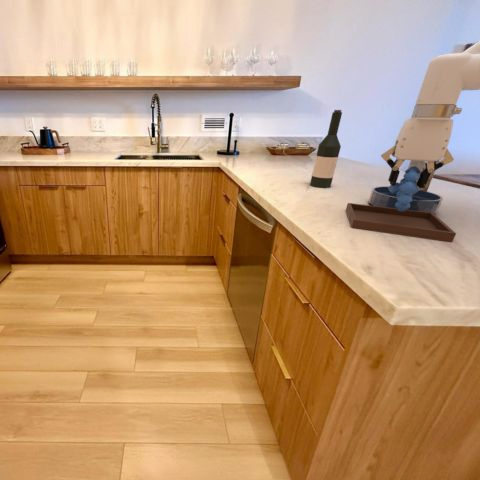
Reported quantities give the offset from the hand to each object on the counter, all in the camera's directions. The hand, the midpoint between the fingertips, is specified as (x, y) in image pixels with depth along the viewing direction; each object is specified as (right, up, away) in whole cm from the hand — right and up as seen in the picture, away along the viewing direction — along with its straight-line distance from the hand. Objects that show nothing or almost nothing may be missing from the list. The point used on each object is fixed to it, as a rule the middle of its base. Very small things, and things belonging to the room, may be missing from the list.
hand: (405, 185), depth 78 cm
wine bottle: (+3, +8, +46) cm, 47 cm away
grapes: (0, -7, +3) cm, 7 cm away
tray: (0, -10, +5) cm, 11 cm away
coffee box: (+25, 0, +27) cm, 37 cm away
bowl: (+14, -4, +19) cm, 24 cm away
